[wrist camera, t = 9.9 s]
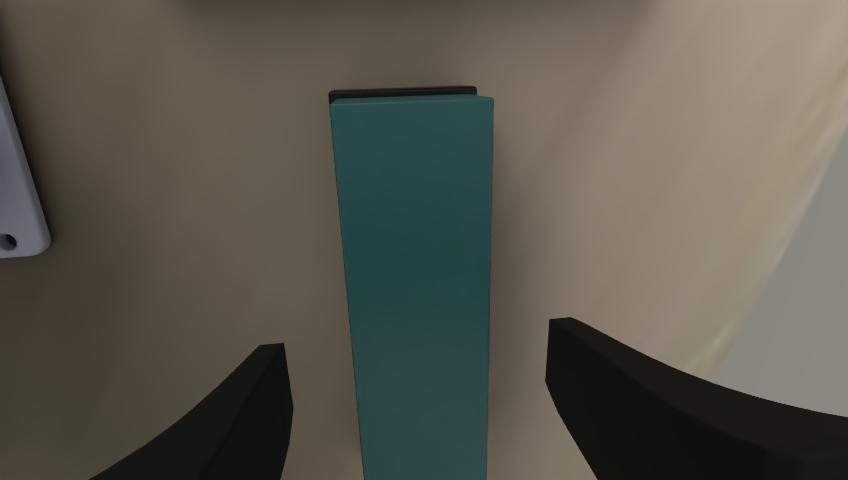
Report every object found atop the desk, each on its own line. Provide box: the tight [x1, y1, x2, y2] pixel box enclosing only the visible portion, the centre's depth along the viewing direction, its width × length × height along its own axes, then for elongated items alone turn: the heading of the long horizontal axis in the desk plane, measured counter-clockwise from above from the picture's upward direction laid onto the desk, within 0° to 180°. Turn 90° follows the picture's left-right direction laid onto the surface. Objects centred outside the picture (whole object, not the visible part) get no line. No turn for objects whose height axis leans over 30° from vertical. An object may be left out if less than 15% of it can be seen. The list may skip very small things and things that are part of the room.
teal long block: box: [329, 86, 494, 480], centre depth 15 cm, size 14×4×4 cm, turn 2°
